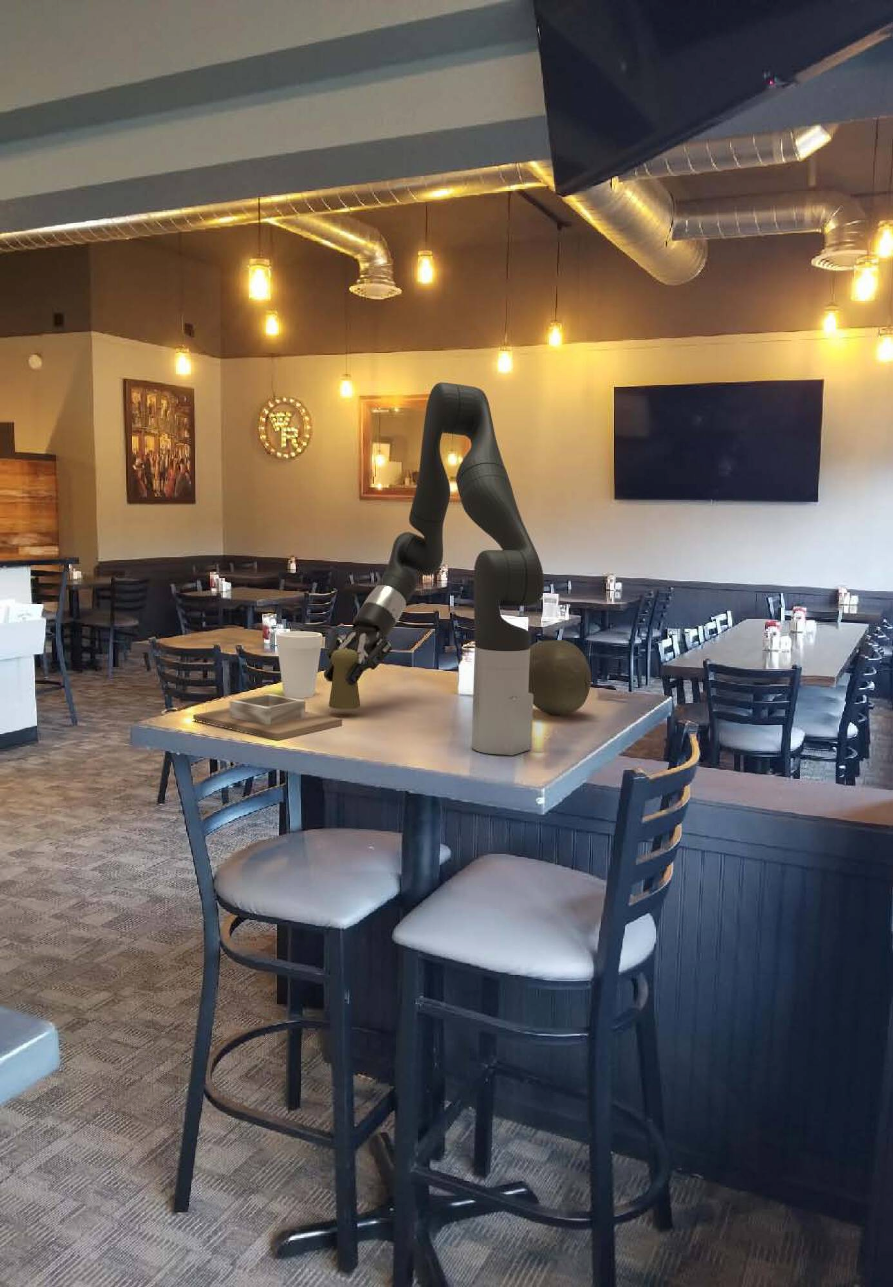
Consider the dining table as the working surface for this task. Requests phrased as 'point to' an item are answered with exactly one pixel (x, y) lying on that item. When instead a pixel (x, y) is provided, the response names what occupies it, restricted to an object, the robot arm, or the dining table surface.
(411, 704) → the dining table surface
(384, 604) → the robot arm
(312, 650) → the foam cup
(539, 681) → the cantaloupe
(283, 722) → the brown board with dish
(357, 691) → the olive pepper mill
